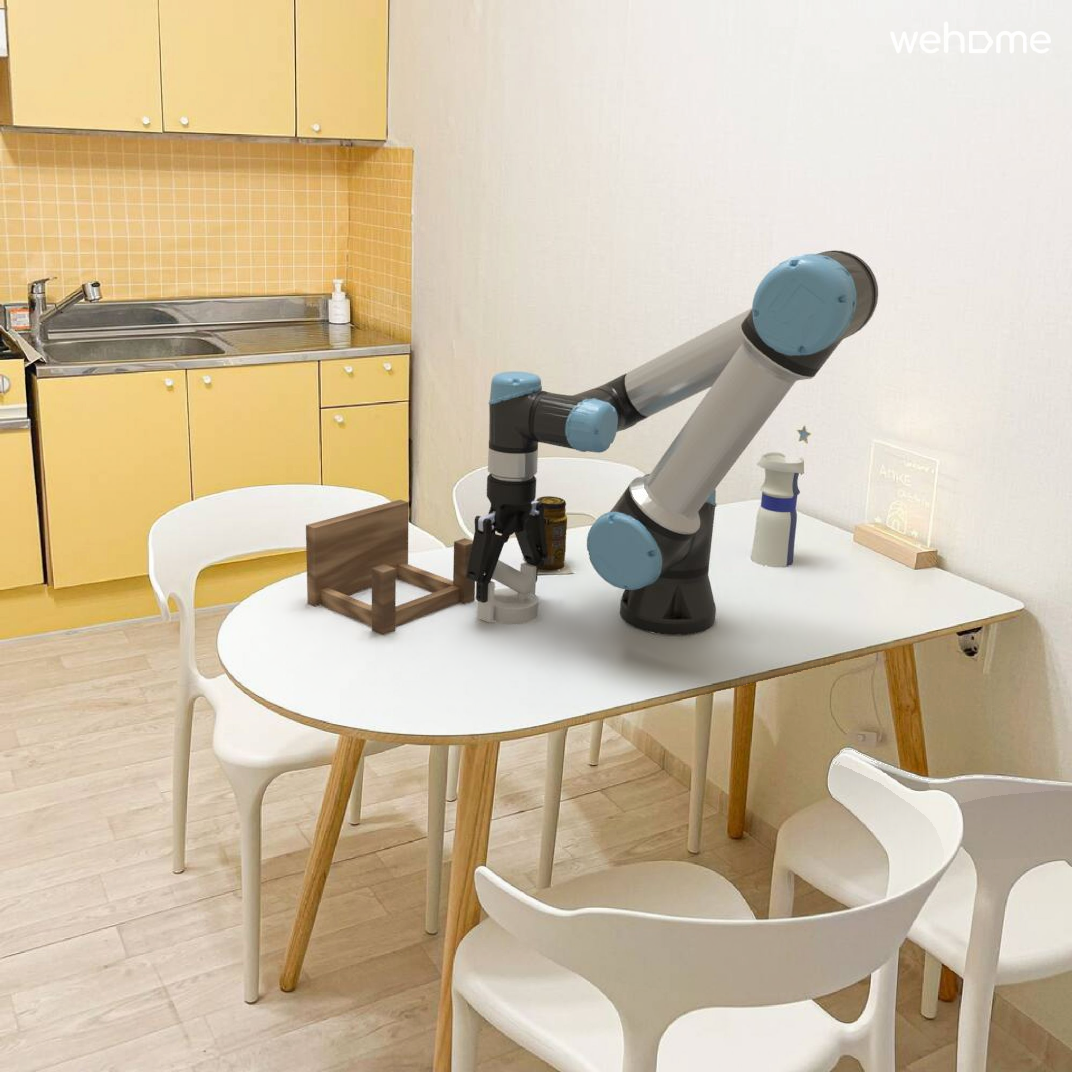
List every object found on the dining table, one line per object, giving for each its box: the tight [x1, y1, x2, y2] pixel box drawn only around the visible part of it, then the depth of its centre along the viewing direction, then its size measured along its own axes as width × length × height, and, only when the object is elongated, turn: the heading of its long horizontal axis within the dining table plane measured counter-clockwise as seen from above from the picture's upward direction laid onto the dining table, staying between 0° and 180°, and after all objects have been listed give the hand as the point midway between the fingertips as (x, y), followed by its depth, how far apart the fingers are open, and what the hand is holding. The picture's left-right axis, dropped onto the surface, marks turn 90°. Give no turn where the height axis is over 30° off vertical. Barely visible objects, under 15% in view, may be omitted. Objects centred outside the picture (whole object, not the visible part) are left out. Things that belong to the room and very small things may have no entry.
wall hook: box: [484, 559, 540, 625], centre depth 181 cm, size 9×10×10 cm
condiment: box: [522, 495, 574, 575], centre depth 202 cm, size 7×8×12 cm
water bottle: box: [750, 424, 812, 568], centre depth 208 cm, size 8×8×25 cm
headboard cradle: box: [305, 499, 476, 636], centre depth 183 cm, size 18×20×13 cm
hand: (506, 610), depth 183 cm, fingers open, 9 cm apart
